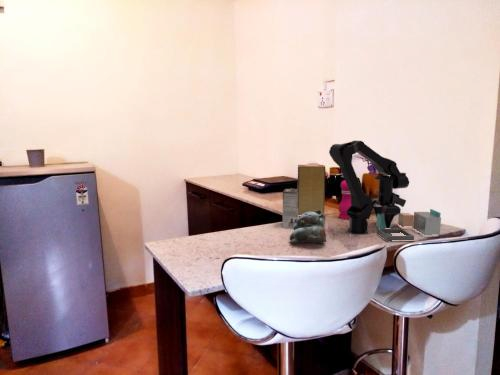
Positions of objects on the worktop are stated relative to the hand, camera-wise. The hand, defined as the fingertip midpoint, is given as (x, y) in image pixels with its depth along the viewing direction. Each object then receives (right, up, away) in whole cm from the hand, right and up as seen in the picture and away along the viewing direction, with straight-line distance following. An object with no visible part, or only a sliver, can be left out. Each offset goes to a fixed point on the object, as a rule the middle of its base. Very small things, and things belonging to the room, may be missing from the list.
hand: (383, 225), depth 158 cm
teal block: (0, -1, 0) cm, 1 cm away
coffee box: (-40, -1, +5) cm, 40 cm away
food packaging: (-28, +2, +25) cm, 37 cm away
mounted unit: (+14, -3, -8) cm, 17 cm away
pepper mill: (-11, +1, +19) cm, 22 cm away
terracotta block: (+10, -1, +1) cm, 10 cm away
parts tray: (-1, -4, -14) cm, 14 cm away
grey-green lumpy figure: (-36, -5, -19) cm, 41 cm away
